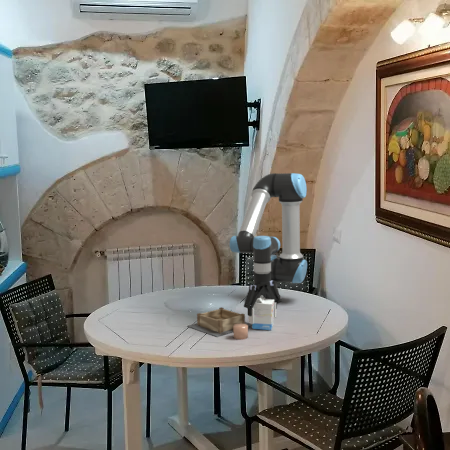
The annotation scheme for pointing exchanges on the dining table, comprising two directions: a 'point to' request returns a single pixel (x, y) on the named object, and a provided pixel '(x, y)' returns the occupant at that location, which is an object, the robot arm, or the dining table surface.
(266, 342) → the dining table surface
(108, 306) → the dining table surface
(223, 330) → the crate
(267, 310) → the ink box
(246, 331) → the brown egg
